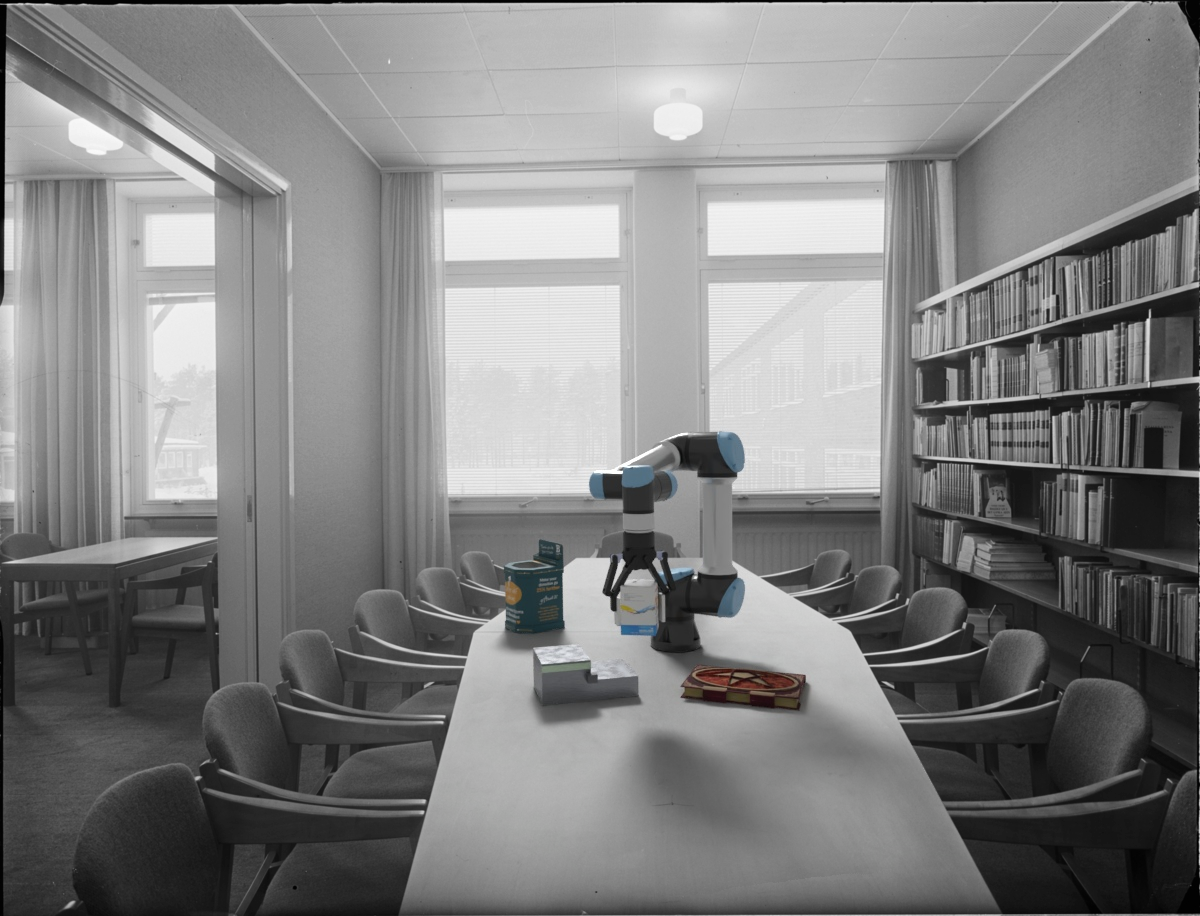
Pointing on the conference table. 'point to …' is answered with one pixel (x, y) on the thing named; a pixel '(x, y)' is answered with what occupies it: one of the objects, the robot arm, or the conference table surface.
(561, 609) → the donation box
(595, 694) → the stepped stand
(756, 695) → the book
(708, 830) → the conference table surface
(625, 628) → the ink box
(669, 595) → the robot arm
